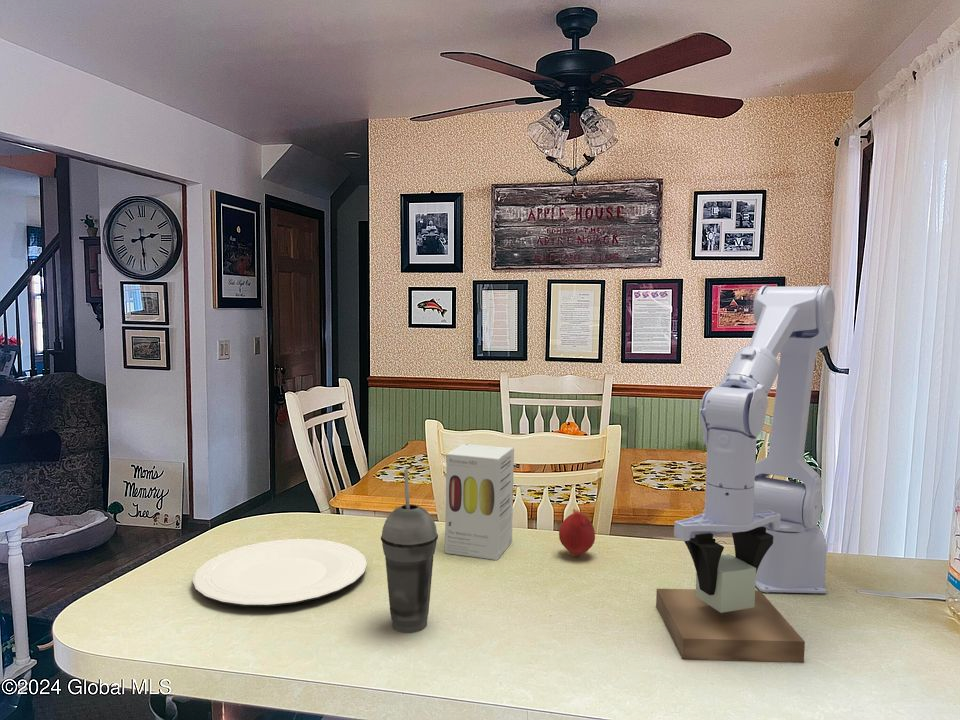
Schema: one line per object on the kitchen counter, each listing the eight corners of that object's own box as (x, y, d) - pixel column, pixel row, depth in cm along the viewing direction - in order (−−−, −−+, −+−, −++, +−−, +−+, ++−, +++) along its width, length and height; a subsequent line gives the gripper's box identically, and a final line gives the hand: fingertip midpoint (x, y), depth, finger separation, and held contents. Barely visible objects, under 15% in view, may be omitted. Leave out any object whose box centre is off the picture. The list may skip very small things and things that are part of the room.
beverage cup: (392, 643, 84) (392, 481, 82) (373, 618, 90) (372, 468, 89) (447, 630, 87) (447, 475, 86) (424, 607, 94) (424, 462, 92)
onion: (593, 550, 115) (594, 504, 115) (595, 563, 110) (596, 514, 109) (558, 549, 116) (559, 502, 115) (558, 562, 110) (559, 513, 110)
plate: (152, 597, 97) (152, 584, 96) (270, 541, 120) (269, 530, 120) (300, 631, 87) (300, 616, 87) (396, 562, 110) (396, 551, 110)
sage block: (727, 591, 90) (729, 553, 90) (754, 607, 86) (756, 568, 85) (695, 596, 89) (696, 558, 88) (720, 612, 84) (722, 573, 84)
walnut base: (759, 608, 94) (760, 590, 94) (803, 662, 80) (804, 641, 80) (656, 606, 95) (656, 588, 94) (682, 658, 81) (683, 638, 80)
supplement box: (443, 554, 113) (443, 453, 112) (461, 535, 122) (462, 442, 121) (499, 561, 111) (500, 457, 109) (513, 542, 119) (515, 446, 118)
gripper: (755, 471, 92) (750, 570, 93) (661, 479, 87) (657, 583, 88) (794, 484, 85) (789, 591, 86) (695, 494, 81) (691, 607, 82)
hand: (725, 589), depth 87 cm, fingers closed on sage block, 5 cm apart
